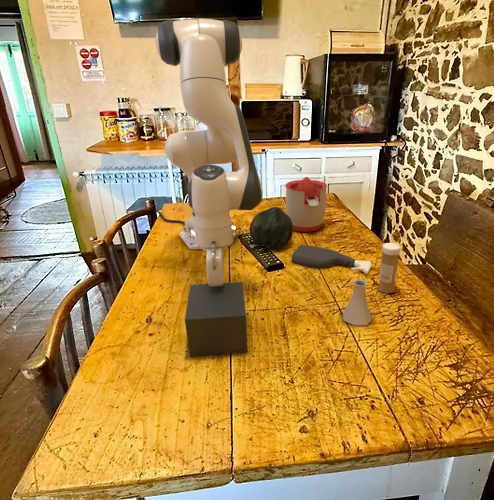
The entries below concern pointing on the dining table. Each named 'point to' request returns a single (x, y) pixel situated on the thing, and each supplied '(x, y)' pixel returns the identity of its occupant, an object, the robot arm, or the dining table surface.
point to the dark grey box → (216, 319)
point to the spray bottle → (326, 258)
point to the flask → (357, 306)
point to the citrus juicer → (306, 204)
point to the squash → (271, 228)
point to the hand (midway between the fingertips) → (218, 283)
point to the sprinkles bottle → (389, 267)
